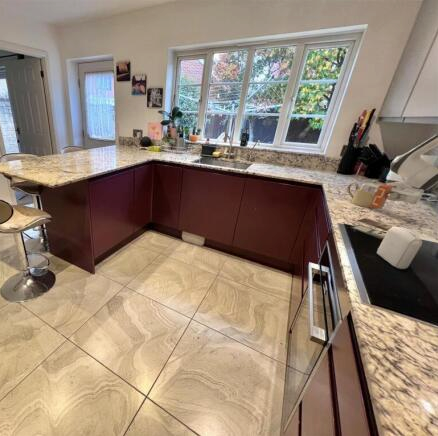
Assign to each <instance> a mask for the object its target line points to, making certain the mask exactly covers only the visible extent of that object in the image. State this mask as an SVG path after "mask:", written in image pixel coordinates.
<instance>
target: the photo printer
mask: <svg viewBox="0 0 438 436" xmlns="http://www.w3.org/2000/svg"><path fill="white" fill-rule="evenodd" d="M422 245H423V241H422V238H421V237H420V236H419V235H418V234H416V233H415V232H413V231H412V230H410V229H408V228H405V227H401V226H392V228H390V229H389V230H388V231H386V235H385V237H384V239H383V240H382V241H381V243H380V245H379V247H378V248H377V251H376V254H377V255H378V256H380V257H381V258H382V259H383V260H385V261H386V262H388V264H390V265H391V266H393V267H395V269H400V270H405V269H408V268H409V266H410V264H411V263H412V261H413V260H414V258H415V256H416V255H417V253H418V251H419V250H420V249H421V247H422Z"/></svg>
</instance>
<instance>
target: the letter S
mask: <svg viewBox="0 0 438 436" xmlns="http://www.w3.org/2000/svg"><path fill="white" fill-rule="evenodd" d="M379 185H380V186H379V188H378V190H377V192H376V194H375V196H374V198H373V200H372V202H371V204H370V206H372V207H374V208H375V209H380V208H384V206H385V204H386V202H387V201H388V199H387V197H385V196H386V194H387V193H390V192H391V190H392V188H393V186H391V185H387V184H385V183H383V184H379Z"/></svg>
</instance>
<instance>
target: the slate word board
mask: <svg viewBox="0 0 438 436" xmlns="http://www.w3.org/2000/svg"><path fill="white" fill-rule="evenodd" d="M350 228H351V229H354V230H356V231H359V232H361V233H364V234H367V235H370V236H372V237H374V238H377V239H379V240H382V241H383V239H384V237H385V235H386V233H387V232H386V233H385V232H383V231H381V230H377V229H375V228H374V229H373V228H371V227H368V226H365V225H363V224H356V225H353V226H351V227H350Z"/></svg>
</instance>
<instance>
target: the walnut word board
mask: <svg viewBox="0 0 438 436" xmlns="http://www.w3.org/2000/svg"><path fill="white" fill-rule="evenodd" d="M356 221H357V222H360V223H362V224H365V225H368V226H371V227H374V228H377V229H380V230H382V231H386V232H387V231H388V230H389V229H390V228H392V227H393V225H389V224H386V223H383V222H379V221H375V220H372V219H369V218H366V217H364V218H361V219H358V220H356Z"/></svg>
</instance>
